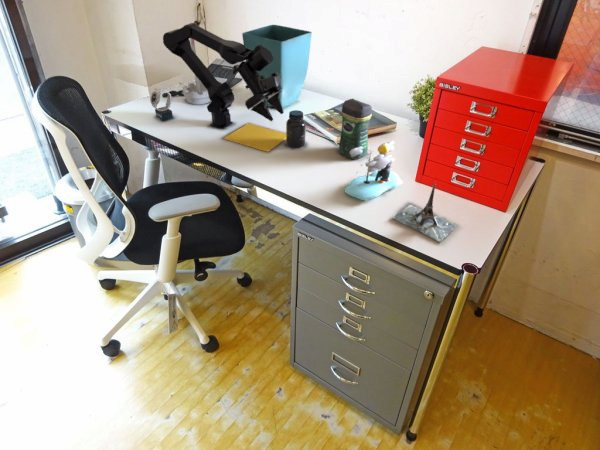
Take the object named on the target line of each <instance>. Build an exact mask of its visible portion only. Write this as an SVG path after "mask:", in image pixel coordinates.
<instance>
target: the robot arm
mask: <svg viewBox="0 0 600 450" xmlns="http://www.w3.org/2000/svg"><path fill="white" fill-rule="evenodd" d="M190 38H192V39H194V41H195V42H197V43H199V44H201V45H203V46H205V47H207V48H209V49H211V50H212V51H214V52H216V53H218V55H219V56H220V58H221V59H222V60H223V61H225V62H226V63H228V64H229V65H233V70H232V75H236V74H239V75H240V77H241V79H242V80H243V82H244V83H245V89H246V90H248V89H249V91H250V92H251V94H252V95H251V96H250V97H249V98H247V100H245V102H244V106H245V107H246V108H247V110H250V111H253V112H255V113H257V114H258V115H260V116H262V117H263V118H265V119H267V120H268V121H270V122H272V121H274V118H273V116H272V114H271V112H270V110H269V108H268V105H266V99H268V98H269V99H268V100H267V102H268V103H269V104H271V105H272V106H273V107H272V108H274V109H275V111H277V112H278V113H279V114H280V115H283V114H284V108H282V105H281V101H280V94H281V91H280V90H281V89H282V88H281V86H280V85H281V84H282V83H281V79H282V77H281V76H280V75H279V74H278V72H275V73H272V74H271V77H268V78H265V76H264V75H261V76H260V74H259V73H258V71H262V70H263V69H264V68H265V67H266V66H268V65H269V64H270V63H271V62H272V61H273V56H272V53H271V52H270V51H269V50H268V49H267V48H265V47H263V46H262V45H261V44H260V45H258V46H256V47H255V49H254V50H251V49H248V48H246V47H245V46H244V43H241V42H238V41H235V40H230V39H229V40H228V39H225V38H222V37H220V36H218V35H216V34H215V33H212V32H210V31H209V30H207V29H205V28H203V27H201V26H199V25H198V24H197V23H195V22H190V23H187V24H185V25H183V26H182V27H180V28H176V29H172V30H170V31H167V32H165V33H164V34H163V36H162V43H163V45H164V47H165V48H166V49H167V50H168V51H169V52H170V53H172V54H173V55H175V56H177V57H179V58H180V59H181V60H182V61H183V62H184V63H185V64H186V65H187V67H188V69H190V71H191V72H192V73H193V74H194V76H195V75H196V77H197V78H198V79H199V82H201V83H202V84H203V85H204V86H205V88H206V89H207V90H208V95H209V99H210V100H211V101H210V102H209V103H208V105H206V110H207V111H208V113H211V121H212V122H211V123H209V126H211V127H215V128H218V129H221V130H224V129H225V128H227V127H230V126H231V125H233V123H234V122H233V121H232V119H231V113H230V109H229V108H230V107H232V104H233V103H234V101H235V94H234V92H233V91H234V90H233V89H232V88H231V87H230V86H229V84H228V82H226V81H223V82H220V81H218V80H217V79H216V77H215V76H214V75H213V73H212V72H211V71H210V70H209V69H208V67H207V66H206V65H205V64H204V63H203V61H202V60H201V59H200V57H199V56H198V54H197V53H196V54H195V53H194V51H193V50H192V49H191V41H190ZM246 59H247V60H248V61H247V62H246ZM238 63H239V64H238ZM279 91H280V92H279ZM264 98H266V99H265V100H263V99H264Z"/></svg>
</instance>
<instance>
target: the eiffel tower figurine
mask: <svg viewBox="0 0 600 450" xmlns="http://www.w3.org/2000/svg"><path fill="white" fill-rule="evenodd" d="M435 188H436V183H434V184H432V189H431V192H430V195H429V198H428V201H427V203H426V204H425V206H424V207H423V209H422V208H419V207H417V206H415V205H412V204H408V205H407V206H406V207H405V208H403V209H402V210H400V212H398V213H397V214H396V215H394V216H393V217H392V219H393V220H396V221H398V222H400V223H402V224H404V225H406V226H408V227H410V228H412V229H414V230H416V231H418V232H420V233H422V234H424V235H426V236H428V237H429V238H431V239H434V240H436V241H437V242H438V243H441V242H442V241H443V240H445V238H446V237H447V236H449V234H450V233H452V231H453V230H454V229H455V228H456V227H457V226H458V224H457V223H454V222H451V221H449V220H446V219H445V218H442V217H440V216H438V215H435V214H434V211H433V208H434V206H433V204H434V196H435V190H436V189H435Z"/></svg>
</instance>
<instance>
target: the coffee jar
mask: <svg viewBox="0 0 600 450" xmlns="http://www.w3.org/2000/svg"><path fill="white" fill-rule="evenodd" d="M372 111H373V110H372V105H371V104H368V103H365V102H364V101H361V100H357V99H355V98H350V99H347V100H345V101H344V102H343V103H342V108H341V119H342V122H341V123H342V124H341V131H340V138H339V145H338V151H339V153H340V154H341V155H343V156H345V157H348V158H350V159H353V160H357V159H362V158H365V157H366V156H367V155H368V147H369V146H368V145H369V144H368V143H369V124H370V120H371V118H372V113H373V112H372ZM360 146H361V147H362V149H361V150H362V151H363V152H362V153H361V154H359V155H356V156H354V157H351V154H349V152H350V151H351V150H352V149H354V148H357V147H360Z"/></svg>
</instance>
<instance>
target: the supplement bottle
mask: <svg viewBox="0 0 600 450" xmlns="http://www.w3.org/2000/svg"><path fill="white" fill-rule="evenodd" d="M306 127H307V122H306V121H305V119H304V112H303V111H302V110H299V109H296V110H290V111H289V112H288V119H287V120H286V122H285V134H286V139H285V144H286V146H287V147H288V148H291V149H301V148H304V147H305V146H306V130H307V129H306Z"/></svg>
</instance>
